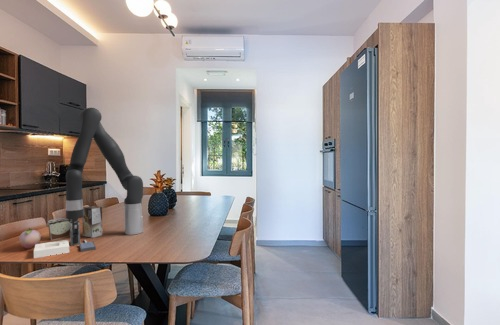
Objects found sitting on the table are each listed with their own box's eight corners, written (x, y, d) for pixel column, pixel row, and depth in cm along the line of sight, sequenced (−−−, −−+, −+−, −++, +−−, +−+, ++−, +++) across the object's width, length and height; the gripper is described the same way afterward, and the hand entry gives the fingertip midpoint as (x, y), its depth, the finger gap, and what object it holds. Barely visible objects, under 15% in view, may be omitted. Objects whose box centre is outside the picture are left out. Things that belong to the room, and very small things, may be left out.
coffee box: (103, 235, 160) (102, 206, 160) (92, 238, 154) (91, 208, 154) (92, 233, 164) (92, 205, 164) (81, 236, 159) (81, 207, 158)
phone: (91, 239, 150) (91, 237, 150) (95, 249, 134) (95, 246, 134) (78, 241, 147) (78, 239, 147) (81, 251, 131) (81, 249, 131)
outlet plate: (68, 245, 141) (68, 239, 141) (69, 252, 130) (69, 245, 130) (35, 250, 134) (35, 244, 133) (33, 258, 123) (33, 251, 123)
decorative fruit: (42, 248, 136) (42, 228, 136) (20, 252, 131) (20, 231, 130) (39, 244, 143) (39, 224, 143) (18, 248, 137) (18, 227, 137)
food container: (67, 234, 163) (66, 216, 163) (72, 235, 160) (72, 217, 159) (42, 239, 152) (42, 221, 152) (48, 241, 149) (47, 222, 149)
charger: (79, 242, 147) (79, 228, 146) (80, 244, 143) (79, 230, 143) (70, 243, 144) (70, 229, 144) (70, 245, 141) (70, 231, 141)
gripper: (84, 209, 140) (85, 244, 140) (82, 206, 152) (82, 238, 152) (66, 211, 136) (66, 247, 136) (65, 207, 147) (65, 240, 148)
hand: (75, 242), depth 144 cm, fingers closed on charger, 4 cm apart
